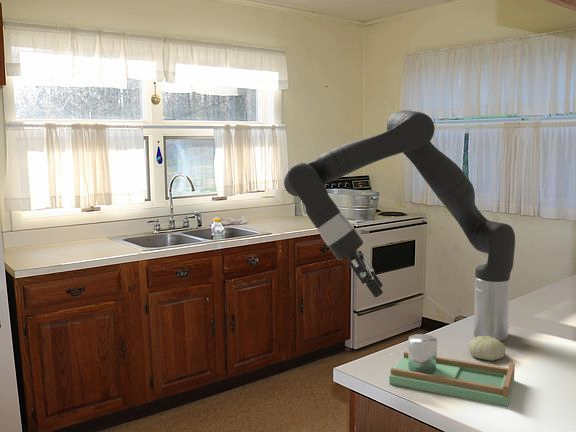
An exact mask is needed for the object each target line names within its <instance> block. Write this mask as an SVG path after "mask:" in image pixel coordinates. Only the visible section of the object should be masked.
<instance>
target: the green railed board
mask: <svg viewBox="0 0 576 432" xmlns="http://www.w3.org/2000/svg"><path fill="white" fill-rule="evenodd" d="M515 365H516V363H515V362H513V361H510V362H509V366H508V367H504V366H503V367H502V366H499V365H498V366H497V365H492V364H486V363H478V362H474V361H473V362H472V361H466V360H460V359H455V358H454V359H453V358H449V357H448V358H447V357H441V356H437V366H436V372H435V373H433V374H425V373H419V372H414V371H410V370H409V369H408V351H404V352H403V357H402V359H401V360H400V361H399V362H398V364H397V365H396V366H395V367H391V368H390V373H389V376H388V377H389V378H388V379H389V380H388V381H389V385H393V386H400V387H404V388H409V389H415V390H421V391H426V392H429V393H436V394H441V395H445V396H451V397H455V398H456V397H457V398H462V399H466V400H472V401H478V402H483V403H487V404H492V403H493V404H494V405H497V404H498V405H497V406H502V405H503V407H508V406H509V402H510V399H511V394H512V390H513V386H514V383H515V367H516V366H515Z"/></svg>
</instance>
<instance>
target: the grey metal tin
mask: <svg viewBox="0 0 576 432" xmlns="http://www.w3.org/2000/svg"><path fill="white" fill-rule="evenodd" d="M407 352H408V369H409V370H410V371H414V372H419V373H425V374H433V373H435V372H436V366H437V357H438V356H437V353H438V339H437V337H435V336H433V335H430V334H426V333H425V334H424V333H420V334H419V333H418V334H417V333H416V334H412V335H409V336H408V351H407Z"/></svg>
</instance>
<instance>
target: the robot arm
mask: <svg viewBox="0 0 576 432" xmlns="http://www.w3.org/2000/svg"><path fill="white" fill-rule="evenodd" d="M435 129H436V127H435V123H434V121H433V119H432V118H431V117H430V116H429V115H427V114H426V113H423V112H420V111H413V110H399V111H396V112H394V113H392V114H391V115H390V116H389V118H388V120H387V123H386V131H384V132H381V133H379V134H376V135H373V136H370V137H366V138H362V139H357V140H354V141H351V142H347V143H344V144H342V145H340V146H337V147H335V148H332V149H331V150H328V151H326V152H325V153H324V152H323V154H321V155H319V156H318V157H317V158H315V160H312V161H310V162H307V163H305V162H297V163H295V164H293V165H292V166H291V167H290V168H289V170H288V171H287V173H286V174H285V176H284V180H283V184H284V185H283V186H284V188H285V190H286V192H287V193H288V194H290V195H292V196H294V197H298V198H299V199H300V201H301V202H302V203H303V204H302V205H304V208H305V212H306V215H307V217H308V218H309V220H310V221H311V222H312V224H313V225H314V227H315V228H316V229H317V232H319V235H320V237H321V238H322V240H323V242H324V243H325V245H327V247H328V248H329V250H330V251H331V253H332V254H333V256H334V257H335V258H336V259H337V260H338V261H342V260H344V259H345V258H347V259H348V260H349V261H348V265H349V266H350V268H351V270H353V272H354V273H355V275H356V277H357V278H358V279H359V280H360V283H361V284H363V285H365V286H366V287H367V289H368V290H369V291H370V293H371V294H372V296H373V297H374V298H378V297H379V296H381V295H383V290H382V288H383V287H384V286H383V282H381V280H380V279H379V277H378V276H377V275H376V273H375V270H374V267H373V265H372V264H371V263H370V261H369V260H368V258H367V256H366V255H365V253H363V252H362V250H361V249H359V248H360V247H362V246H363V244H364V240H363V239H362V238H361V237H360V235H359V234H358V232H357V231H356V229H355V228H354V227H353V225H352V223H350V221H349V220H348V217H346V216H345V215H344V214H343V213H342V212H341V210H340V209H339V207H338V206H337V204H336V203H335V202H334V199H332V198H331V196H330V195H329V193H328V191H327V188H326V186H325V185H327V184H328V183H330V182H332V181H335V180H338V179H340V178H342V177H344V176H346V175H350V174H351V173H353V172H355V171H357V170H359V169H362V168H364V167H366V166H369V165H371V164H374V163H376V162H378V161H381V160H384V159H387V158H389V157H392V156H396V155H399V154H402V153H403V155H404V156H405V157H407V159H409V162H411V163H412V164H413V165H414V167H415V168H416V170H417V171H418V173H419V174H420V175H421V177H422V179H424V181H425V183H427V185H428V186H429V188H430V189H431V191H432V192H433V193H434V194H435V196H436V197H437V199H439V201H440V202H441V203H442V204H443V206H445V208H446V209H447V211H448V212H449V213H450V214H451V216H452V217H453V218H454V220H456V222H457V224H458V225H459V226H460V228H461V229H462V231H463V234H464V235H465V237H466V238H467V240H468V242H469V243H470V244H471V246H472V247H473V248H474V249H475V250H476V251H479V252H481V253H484V254H487V261H486V263H485V264H480V265H477V267H476V268H475V270H474V271H475V273H474V274H475V275H474V277H475V278H474V309H473V310H474V311H473V313H474V314H473V315H474V316H473V336H474V337H478V336H489V337H493V338H495V339H497V340H498V341H500V342H501V341H502V342H503V341H505V340H507V339H508V338H509V337H508V335H509V317H510V316H509V312H510V311H509V309H510V307H509V306H510V281H511V273H512V270H513V267H514V262H515V261H514V260H515V259H514V258H515V250H516V249H515V248H516V234H515V230H514V229H513V227H512V226H511V225H509V224H507V223H503V222H498V221H493V220H489V219H487V218H486V217H485V215H483V214H482V212H481V211H480V210H479V209H478V207H477V206H476V194H475V193H476V192H475V189H474V186H473V183H472V181H470V179H469V178H468V176H467V175H466V174H465V172H464V171H463V170H462V169H461V168H460V167H459V165H458V164H456V162H454V161H453V160H452V159H451V158H450V157H448V156H447V155H446V154H444V152H442V151H440V150H439V149H438V148H437V147H436V146H435V145H434V144H433V142H432V141H431V140H432V139H433V138H434V135H435Z"/></svg>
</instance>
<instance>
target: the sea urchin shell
mask: <svg viewBox="0 0 576 432" xmlns="http://www.w3.org/2000/svg"><path fill="white" fill-rule="evenodd" d="M505 346H506V345H504V343H503V342H501V341H498V340H497V339H495V338H493V337H489V336H478V337H476V336H474V338H472V339H471V341H470V342H469V345H468V352H469V353H470V354H471V356H472V357H474V358H476V359H479V360H481V359H482V360H485V361H489V362H490V361H491V362H493V361H497V360H500V359H502V358H504V356H505V355H506V354H507V353H506V352H507V349H506V347H505Z"/></svg>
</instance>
